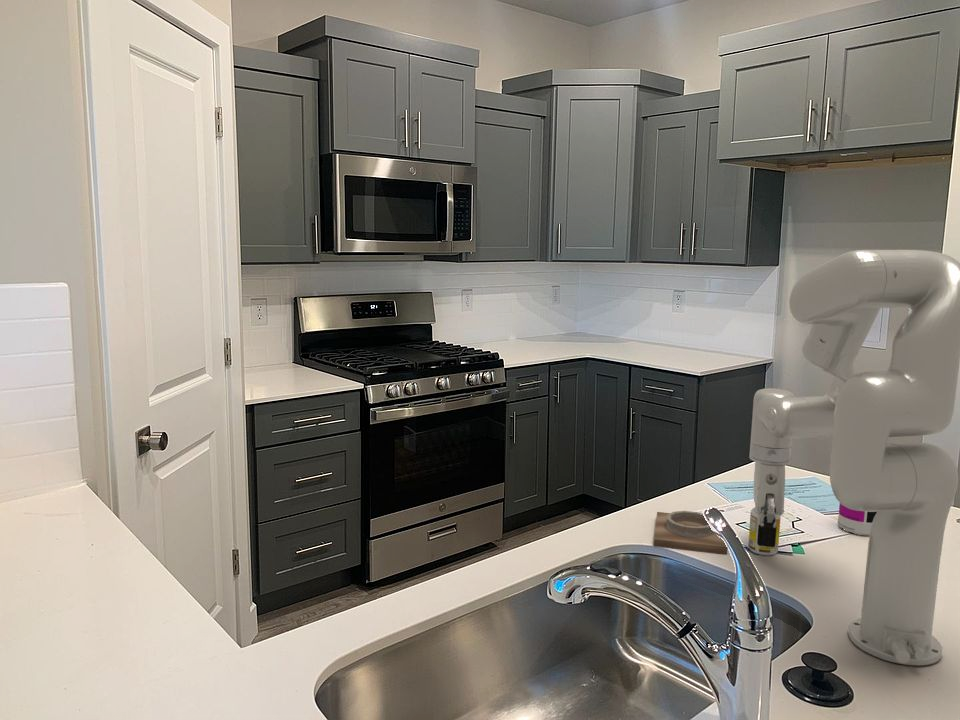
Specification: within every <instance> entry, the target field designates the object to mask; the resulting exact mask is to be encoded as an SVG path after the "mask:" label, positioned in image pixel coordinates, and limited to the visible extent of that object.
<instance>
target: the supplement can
mask: <svg viewBox="0 0 960 720" xmlns="http://www.w3.org/2000/svg"><path fill="white" fill-rule="evenodd" d="M838 506H839V507H838V516H837V517H838V518H837V524H838V526H839V527H840V528H841V527H842V528H843V529H845V530H847V531H849V532H852V533H854V535H856V534H857V536H865V537H869V534H870V528H871V525H872V522H873V519H874V517H875V515H876V513H877V511H878V510H877V511H856V510H852V509H849V508H847V507H845V506H843V505H842V504H841V503H840V502H839V505H838ZM842 528H841V529H842ZM843 529H842V530H843ZM845 530H844V531H845ZM847 531H846V532H847ZM849 532H848V533H849ZM852 533H851V534H852Z"/></svg>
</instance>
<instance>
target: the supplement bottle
mask: <svg viewBox="0 0 960 720" xmlns="http://www.w3.org/2000/svg"><path fill="white" fill-rule="evenodd" d="M765 501H766V500H765ZM763 510H767V509H763ZM765 516H767V515H764V518H765ZM781 516H782V515H780V514H777V511H776V527H777V529H776V541H775V547H767V546H759V545H758V544H757V539H758V526H759V525H760V513H759V512H758V511H757V510H756V506H755V505H754V507H753V508H751V510H750V517H749V535H748V549H749V550H750V551H751V552H753V553H754V554H757V555H761V556H773V555H776V554H777V553H778V551H779V543H780V542H779V541H780V530H781Z"/></svg>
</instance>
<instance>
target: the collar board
mask: <svg viewBox="0 0 960 720" xmlns="http://www.w3.org/2000/svg"><path fill="white" fill-rule="evenodd" d="M703 514H704V513H701V512H698V511H692V510H691V511H690V510H680V511H679V510H678V511H677V510H676V511H672V512H664V511H663V512H661V511H656V519H655V529H654V535H653V536H654V537H653V547H659V548H668V549H676V550H683V551H684V550H685V551H694V552H703V553H710V554H711V553H712V554H720V555H727V554H728V546H727V547H726V545H725V543H724V541H723V540H722V539H721V538H719V537H718V536H717V535H716V534H715V533H714V532H713V531H712V530H711V528H710V526H709V524H708V523H707V521H706V520H705V518H704V516H703Z"/></svg>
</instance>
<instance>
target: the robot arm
mask: <svg viewBox="0 0 960 720" xmlns="http://www.w3.org/2000/svg"><path fill="white" fill-rule="evenodd" d="M788 304H789V311H790V313H791V315H792V317H793V318H794V319H795V320H796V321H797V322H799V323H801V324H805V325H806V324H807V325H811V326H810V328H809V330H808V331H807V332H808V333H807V335H806V337H805V339H804V341H803V343H802V347H801V350H802V355H803V357H804V358H805V359H806V360H807V362H809V363H810V364H811V365H812V366H813V367H815V368H816V369H818V370H821V371H822V372H825V373H827V374H829V375H831V376H832V380H831V382H830V384H829V386H828V388H827V390H826V392H825V394H823V396H822V395H819V396H817V395H816V396H815V395H814V396H795V395H794V393H793V392H791V391H789V390H786V389H781V388H773V387H772V388H771V387H767V388H762V389H761V388H760V389H758V390H756V392H755V393H754V396H753V401H752V403H753V404H752V418H751V419H752V420H751V432H750V443H749V455H748V458H749V459H750V460H751V461H752V462H754V473H753V474H754V475H753V502H754V507H755V506H756V510H757V511H758V512H759V513H760V525H759V526H758V539H757V544H758V545H759V546H767V547H775V541H776V529H777V527H776V511H777V514H780V515H781V516H782V515H784V512H785V491H786V488H785V487H786V465H787V466H788V465H789V464H790V463H791V458H792V447H793V439H807V438H810V439H811V438H812V439H813V438H828V437H832V438H831V446H830V447H831V449H830V461H829V481H830V487H831V490H832V492H833V495H834V497H835V499H836V500H837V501H838V502H839V504H840V503H841V504H842V505H843V506H845V507H847V508H849V509H852V510H856V511H877V510H878V511H877V513H876V515H875V517H874V519H873V522H872V525H871V528H870V534H869V536H868V543H867V544H868V545H867V554H866V564H865V573H864V574H865V575H864V584H863V585H864V586H863V593H862V595H863V596H862V603H861V604H862V605H861V614H860V615H861V616H860V618H858V619H855V620H853V621H852V622H850V624H849V625H848V631H847V633H848V637H849V639H850V640H851V642H853V644H854V645H855V646H856V647H857V648H859V649H861V650H862V651H864V652H865V653H867V654H869V655H871V656H874V657H875V658H878V659H880V660H884V661H887V662H890V663H895V664H899V665H905V666H918V667H919V666H929V665H933V664H935V663H937V662H939V661H940V660H941V658H942V655H943V646H942V644H941V643H940V641H939V640H938V639H937V638H936V637H935V636H934V635H933V634H932V633H933V625H934V616H935V611H936V610H935V609H936V600H937V599H936V598H937V591H938V582H939V574H940V566H941V565H940V564H941V558H942V557H941V556H942V552H943V551H942V550H943V542H944V534H945V530H946V524H947V521H948V517H949V513H950V511H951V507H952V504H953V502H954V499H955V497H956V494H957V490H958V485H959V472H958V468H957V467H958V466H957V465H956V463H955V461H954V459H953V458H952V456H951V455H950V453H948V452H947V451H945V450H944V449H943V448H941V447H939V446H937V445H934V444H931V443H926V442H919V441H918V442H915V441H912V442H911V441H910V442H908V441H907V442H904V441H903V442H889V443H887V442H888V439H889V438H899V437H900V438H901V437H902V438H905V437H917V436H918V437H919V436H921V437H922V436H928V435H935V434H938V433H941V432H943V431H945V430H946V429H948V427H949V425H950V424H951V421H952V419H953V415H954V411H955V405H956V404H955V403H956V397H957V395H956V394H957V388H958V387H957V386H958V379H959V371H960V370H959V369H960V261H958V260H957V259H955V258H954V257H952V256H950V255H948V254H945V253H942V252H937V251H931V250H920V249H858V250H851V251H847V252H844V253H842V254H840V255H838V256H836V257H834V258H832V259H829V260H828V261H825V262H824V263H822V264H819V265H817V266H815V267H813V268H812V269H810V270H809V271H807V272H805V273H804V274H802V275H801V276H800V277H799V278H798V279H797V281H796V282H795V283H794V285H793V286H792V288H791V292H790V295H789V301H788ZM881 308H882V309H887V308H888V309H889V308H891V309H894V308H907V309H910V310H911V312H910V313H909V314H908V315H907V317H905V319H904V320H903V321H902V322H901V324H900V325H899V327H898V329H897V330H896V333H895V335H894V339H893V341H892V347H891V358H890V363H889V367H888V369H887V370H881V371H880V370H877V371H876V370H872V371H865V372H860V373H857V370H856V368H855V366H854V362H855V361H856V358H857V357H858V354H859V352H860V351H861V349H862V346H863V344H864V342H865V340H866V338H867V336H868V334H869V332H870V330H871V328H872V326H873V325H874V323H875V321H876V319H877V316H878V314H879V312H880V311H881ZM765 500H766V501H765ZM763 509H767V510H763ZM764 515H767V516H765V518H764Z"/></svg>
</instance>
